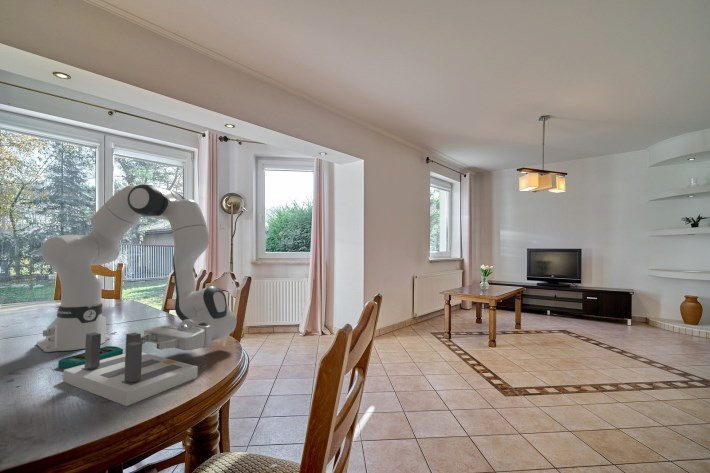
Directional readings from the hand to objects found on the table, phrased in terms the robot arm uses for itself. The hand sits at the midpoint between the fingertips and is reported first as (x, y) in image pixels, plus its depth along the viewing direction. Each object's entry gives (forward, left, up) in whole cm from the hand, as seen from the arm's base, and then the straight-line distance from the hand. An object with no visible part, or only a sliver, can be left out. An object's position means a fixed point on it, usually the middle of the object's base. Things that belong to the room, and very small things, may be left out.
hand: (147, 343), depth 89 cm
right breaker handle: (+9, -9, -5) cm, 14 cm away
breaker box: (0, -4, -8) cm, 9 cm away
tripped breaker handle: (0, -4, -5) cm, 6 cm away
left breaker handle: (-9, -9, -5) cm, 13 cm away
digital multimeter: (-25, -1, -9) cm, 27 cm away
